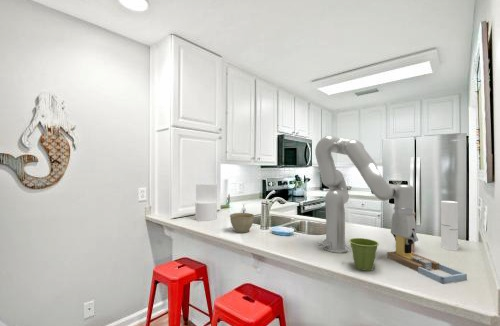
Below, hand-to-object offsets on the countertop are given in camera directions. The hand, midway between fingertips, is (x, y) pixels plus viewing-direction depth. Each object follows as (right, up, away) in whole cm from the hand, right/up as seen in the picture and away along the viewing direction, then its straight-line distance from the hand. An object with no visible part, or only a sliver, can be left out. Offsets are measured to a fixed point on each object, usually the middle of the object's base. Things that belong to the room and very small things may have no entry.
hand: (403, 250), depth 116 cm
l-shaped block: (0, -4, -2) cm, 4 cm away
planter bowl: (-76, -5, +52) cm, 93 cm away
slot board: (+1, -5, -4) cm, 7 cm away
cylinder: (-107, -5, +90) cm, 140 cm away
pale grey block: (+2, -4, -7) cm, 8 cm away
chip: (+3, -4, -10) cm, 11 cm away
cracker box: (+12, -5, +17) cm, 21 cm away
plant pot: (-21, -5, -7) cm, 23 cm away
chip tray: (+5, -5, -17) cm, 18 cm away
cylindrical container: (+36, -5, +19) cm, 41 cm away
